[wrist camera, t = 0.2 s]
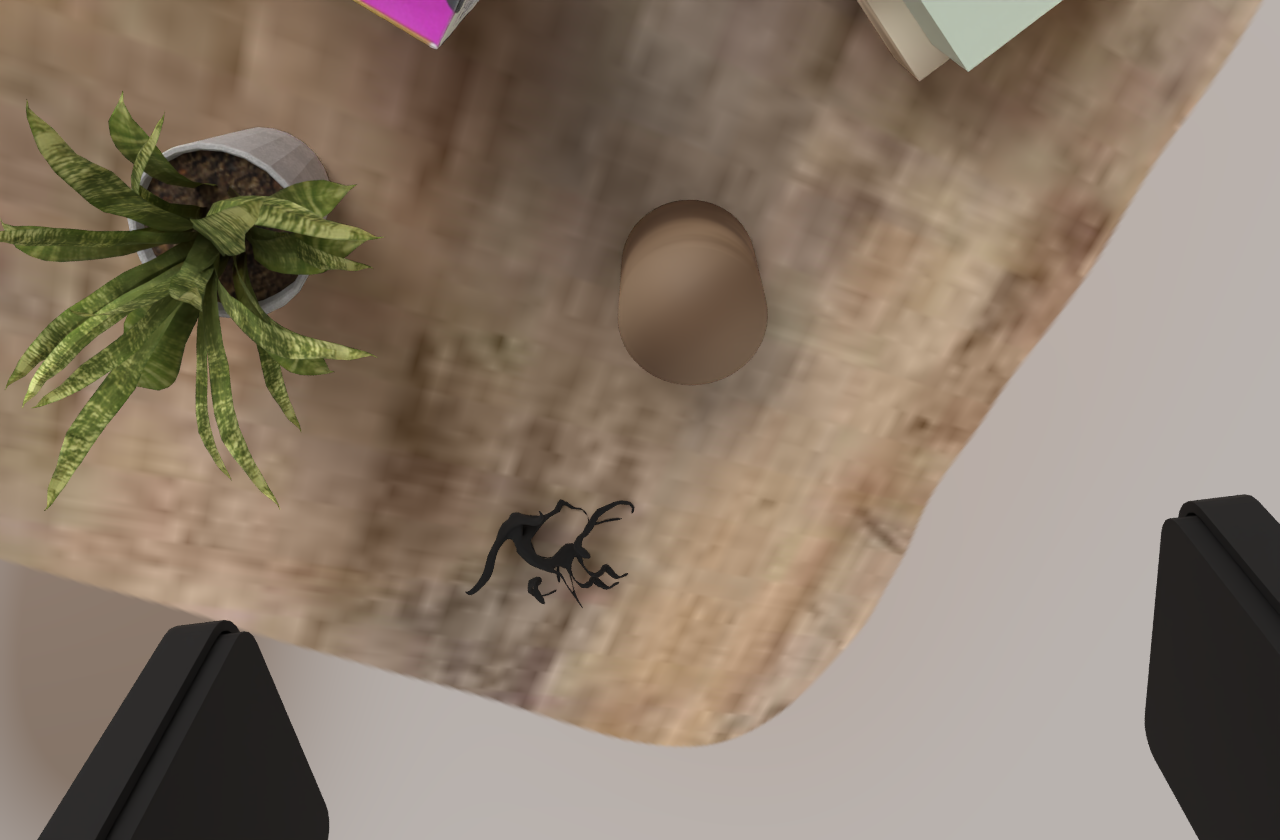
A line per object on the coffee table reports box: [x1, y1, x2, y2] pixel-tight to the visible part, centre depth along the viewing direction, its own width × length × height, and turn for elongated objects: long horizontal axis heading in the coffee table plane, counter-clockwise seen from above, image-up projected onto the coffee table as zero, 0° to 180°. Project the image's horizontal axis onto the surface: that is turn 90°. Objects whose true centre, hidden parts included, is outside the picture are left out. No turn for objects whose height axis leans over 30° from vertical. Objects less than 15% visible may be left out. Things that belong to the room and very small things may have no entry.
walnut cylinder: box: [618, 200, 768, 385], centre depth 45 cm, size 6×6×6 cm
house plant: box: [0, 91, 382, 511], centre depth 39 cm, size 14×14×16 cm
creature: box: [465, 500, 634, 608], centre depth 53 cm, size 8×5×8 cm
